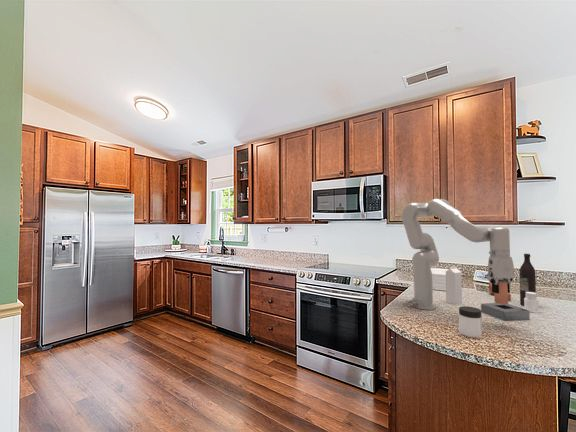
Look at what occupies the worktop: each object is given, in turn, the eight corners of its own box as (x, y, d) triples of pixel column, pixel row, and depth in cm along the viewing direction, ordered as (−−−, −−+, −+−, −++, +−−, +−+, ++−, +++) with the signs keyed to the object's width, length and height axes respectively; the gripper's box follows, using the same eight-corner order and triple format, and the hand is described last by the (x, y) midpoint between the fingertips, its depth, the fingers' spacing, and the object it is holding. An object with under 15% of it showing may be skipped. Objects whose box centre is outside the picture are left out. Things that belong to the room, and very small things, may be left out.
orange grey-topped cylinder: (501, 304, 128) (500, 281, 128) (491, 301, 133) (491, 279, 133) (510, 303, 129) (510, 280, 129) (501, 300, 134) (500, 278, 134)
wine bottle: (519, 302, 169) (518, 252, 169) (535, 304, 165) (534, 253, 165) (520, 305, 163) (519, 254, 164) (537, 307, 159) (535, 254, 160)
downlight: (540, 314, 148) (539, 295, 148) (522, 311, 153) (522, 293, 153) (539, 310, 154) (539, 292, 154) (523, 308, 159) (522, 290, 159)
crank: (488, 292, 195) (488, 280, 195) (502, 293, 191) (502, 281, 191) (495, 299, 177) (494, 287, 177) (510, 301, 173) (510, 288, 173)
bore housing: (504, 322, 137) (504, 311, 137) (481, 312, 151) (481, 303, 151) (529, 320, 139) (529, 310, 139) (504, 311, 153) (504, 302, 153)
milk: (462, 303, 168) (461, 266, 168) (455, 304, 166) (454, 267, 166) (452, 301, 174) (452, 265, 174) (445, 302, 171) (445, 266, 171)
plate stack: (467, 287, 210) (467, 271, 210) (449, 292, 194) (448, 276, 194) (431, 280, 233) (430, 266, 233) (411, 285, 217) (411, 270, 218)
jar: (461, 331, 126) (460, 304, 126) (482, 336, 121) (482, 308, 121) (457, 337, 119) (457, 309, 119) (480, 343, 114) (479, 313, 114)
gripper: (490, 254, 127) (491, 295, 126) (523, 254, 129) (524, 293, 129) (477, 253, 134) (478, 291, 134) (508, 252, 137) (509, 289, 136)
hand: (500, 292), depth 131 cm, fingers closed on orange grey-topped cylinder, 5 cm apart
